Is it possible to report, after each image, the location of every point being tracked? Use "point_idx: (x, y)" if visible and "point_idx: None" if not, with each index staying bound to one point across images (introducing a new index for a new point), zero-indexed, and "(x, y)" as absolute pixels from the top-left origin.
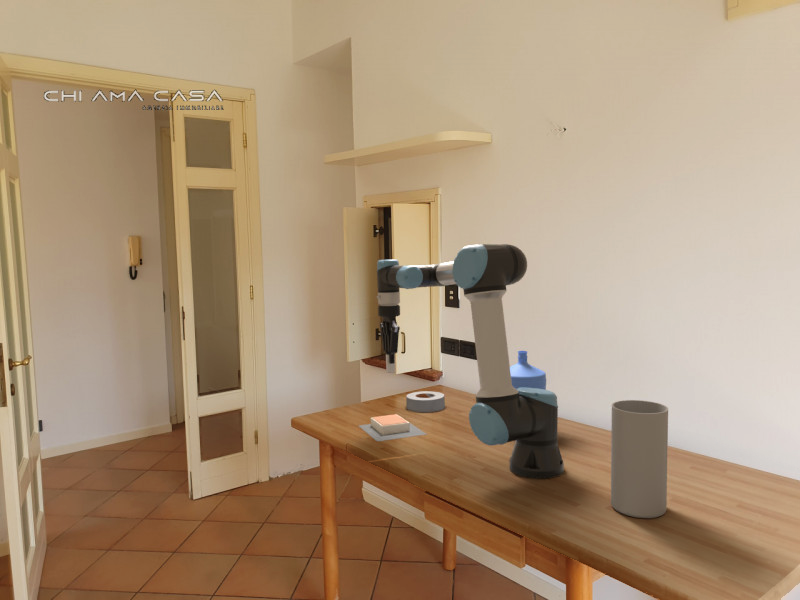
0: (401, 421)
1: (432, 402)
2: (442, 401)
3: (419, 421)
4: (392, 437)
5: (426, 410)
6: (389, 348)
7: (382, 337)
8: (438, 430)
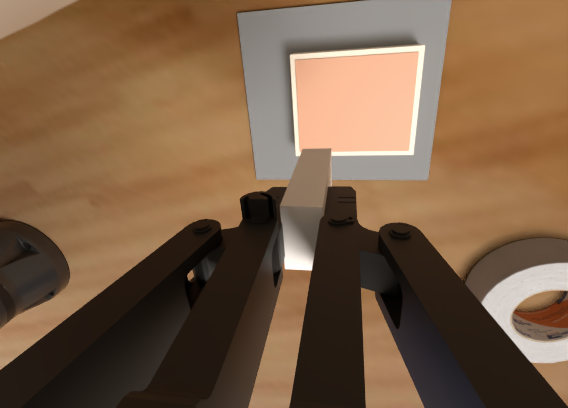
0: (313, 136)
1: None
2: None
3: (393, 213)
4: (260, 76)
5: (475, 271)
6: (229, 250)
7: (483, 351)
8: None
